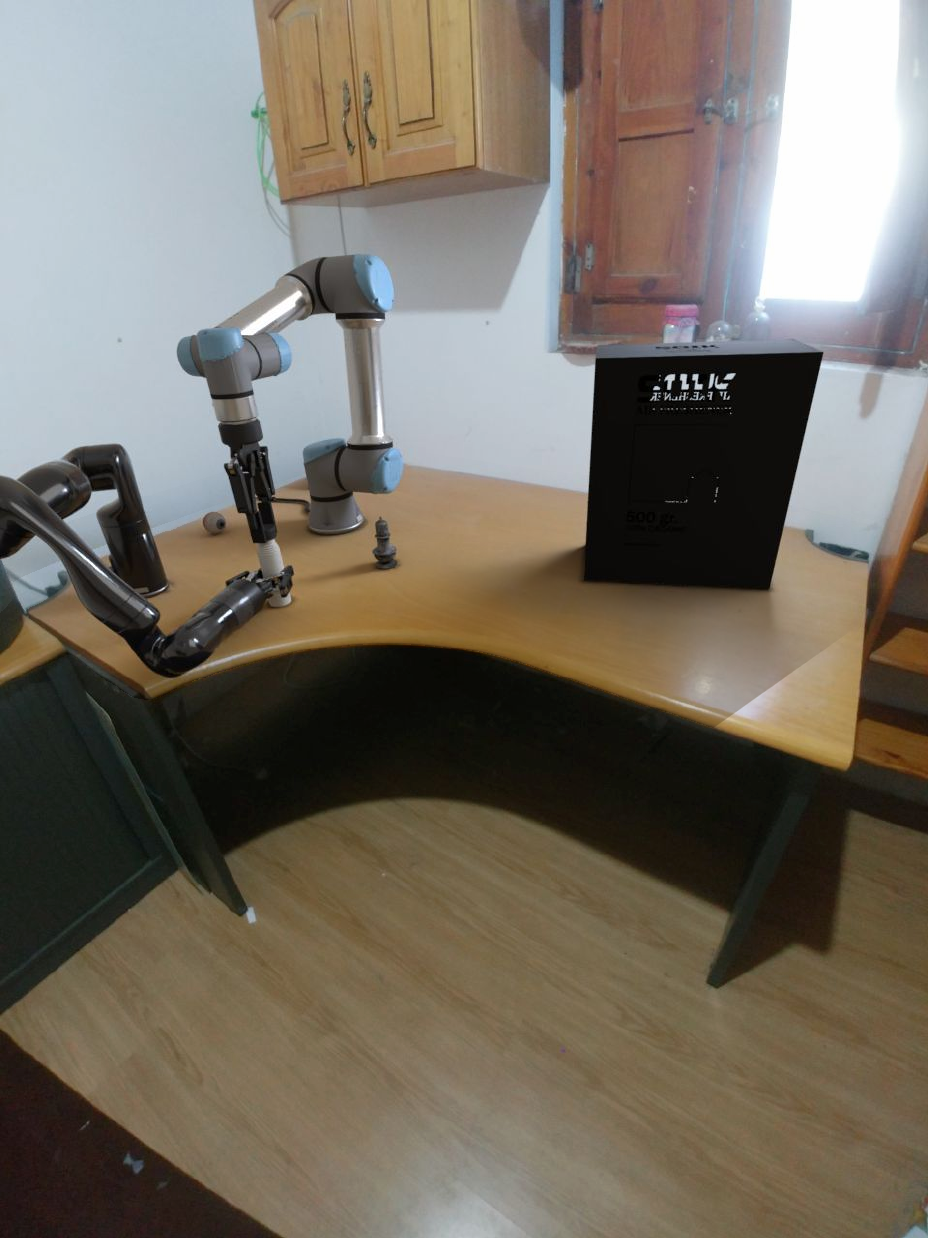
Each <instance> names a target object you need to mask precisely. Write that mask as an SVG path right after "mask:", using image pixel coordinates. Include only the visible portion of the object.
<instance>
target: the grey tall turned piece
mask: <svg viewBox="0 0 928 1238" xmlns="http://www.w3.org/2000/svg"><path fill="white" fill-rule="evenodd" d="M388 525H389V524H388V521H387V520H385V519H383V517H382V516H379V518H378V520H377V521H375V523H374V527H375V535H374V538H375V539H376V547H374V548H373V549H372V551H371V553H372V554H373V557H374V558H375V559H376V560H377V561H376V562H375V564H374V565H375V567H376V568H377V569H380V570H381V569H382V570H386V569H393V568H394V567H396V566H397V565H398V561H397V560H396V559H395V558H396V555H397V550H398V548H397V547H396V546H394V545H392V544H391V539H390V537H391V533H390V532H389V526H388Z"/></svg>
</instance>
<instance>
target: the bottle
mask: <svg viewBox="0 0 928 1238" xmlns="http://www.w3.org/2000/svg"><path fill="white" fill-rule="evenodd" d="M256 554H257V558H258V563H259V567H260V568H261V571H262V575H263V578H265V577H267V576H269V575H271V574H272V575H276V574H278V573H280V572H281V571H282V570H283V569H284V568H285V566H284V561H283V557H282V552H281V548H280V546H279V543H277V541H276V540H275V538H274V539H272V540H269V541H267V543H257V547H256ZM279 582H280V578H279V579H278V583H279ZM267 600H268V604H269V606H270V607H272V608H282V607H285V606H288V605H290V604H291V602H292V598H291V591H290V592H289V594H288V596H287V597H285V598H282V597H281V594H274V595H273V596H272V597H271V598H268V599H267Z"/></svg>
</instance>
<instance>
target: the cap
mask: <svg viewBox="0 0 928 1238" xmlns="http://www.w3.org/2000/svg"><path fill="white" fill-rule="evenodd" d="M263 526H264V531H265V535H266V539H267V541H269V540H272V539H274V540H275V539H276V538H277V534H278V533H277V534H276V529H275V526H274V525H273V524H270V523H265V524H263Z"/></svg>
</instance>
